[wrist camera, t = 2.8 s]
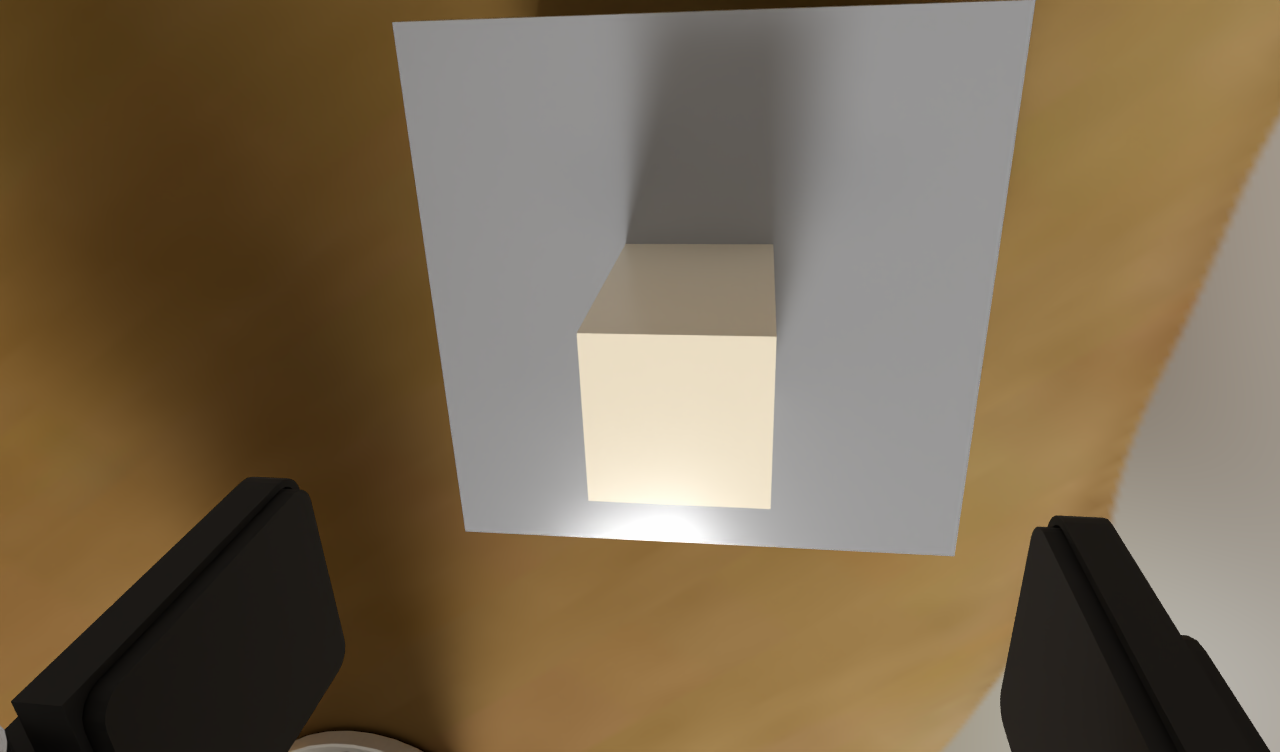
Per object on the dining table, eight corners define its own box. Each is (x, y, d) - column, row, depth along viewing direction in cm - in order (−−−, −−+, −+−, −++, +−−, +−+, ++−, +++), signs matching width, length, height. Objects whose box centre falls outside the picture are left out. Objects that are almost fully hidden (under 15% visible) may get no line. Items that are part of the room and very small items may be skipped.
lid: (940, 515, 25) (1012, 728, 18) (485, 494, 27) (383, 679, 20) (1010, -2, 19) (1158, 3, 12) (424, 19, 21) (247, 34, 14)
